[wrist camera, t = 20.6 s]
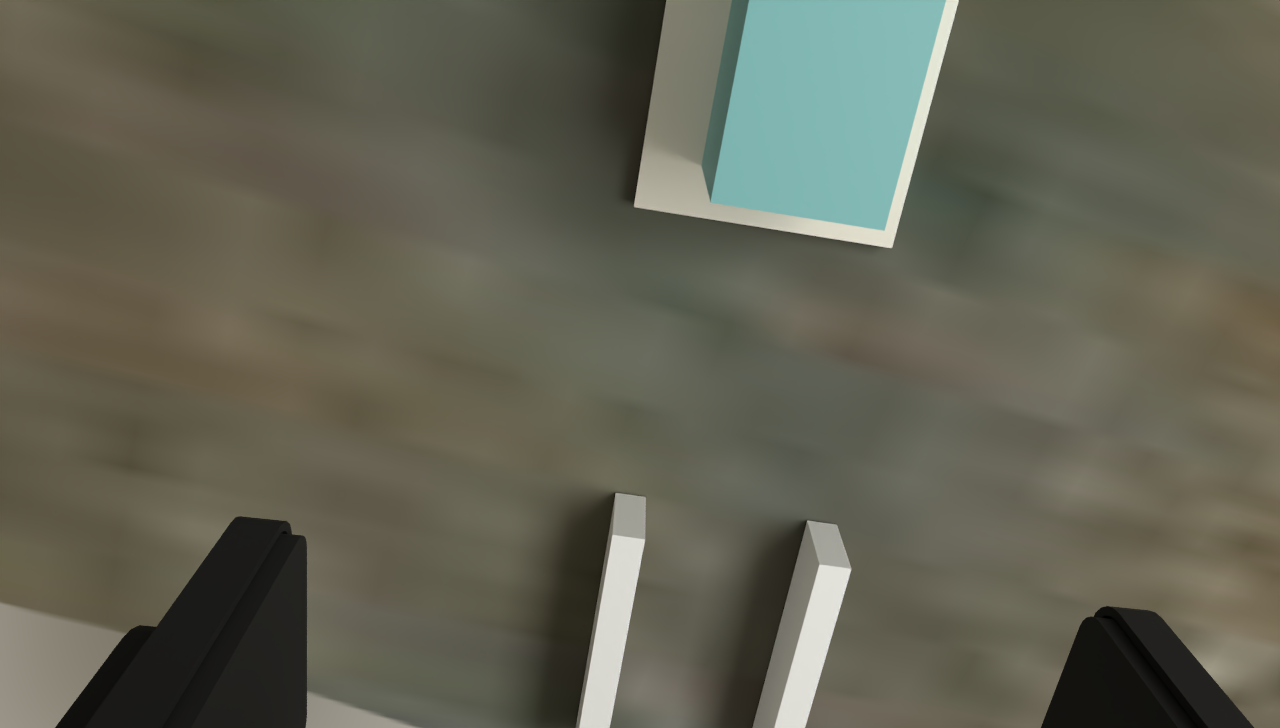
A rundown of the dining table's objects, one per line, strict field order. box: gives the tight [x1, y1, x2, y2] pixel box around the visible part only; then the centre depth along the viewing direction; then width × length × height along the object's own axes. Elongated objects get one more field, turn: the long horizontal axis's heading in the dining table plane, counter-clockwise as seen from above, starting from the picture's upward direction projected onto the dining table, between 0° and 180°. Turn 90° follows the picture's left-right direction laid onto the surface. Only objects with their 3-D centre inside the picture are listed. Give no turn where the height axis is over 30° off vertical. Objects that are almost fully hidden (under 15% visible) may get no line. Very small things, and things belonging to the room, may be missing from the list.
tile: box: [634, 0, 959, 248], centre depth 31 cm, size 9×9×1 cm
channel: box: [576, 493, 851, 728], centre depth 38 cm, size 9×12×3 cm
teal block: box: [701, 0, 946, 231], centre depth 27 cm, size 5×8×6 cm, turn 171°
